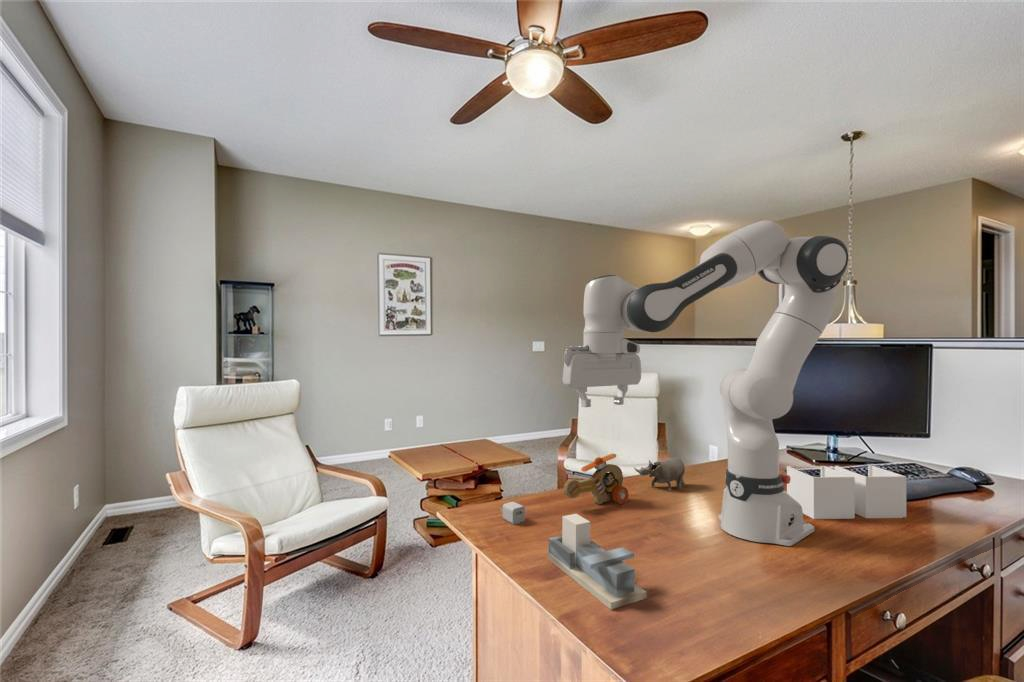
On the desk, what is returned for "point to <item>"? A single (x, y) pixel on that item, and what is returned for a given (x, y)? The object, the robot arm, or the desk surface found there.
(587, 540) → the cream upright slab block
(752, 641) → the desk surface
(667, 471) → the rhinoceros figurine
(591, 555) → the jig
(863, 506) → the storage container
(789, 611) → the desk surface
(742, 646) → the desk surface
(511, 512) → the usb wall charger
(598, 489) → the toy helicopter
